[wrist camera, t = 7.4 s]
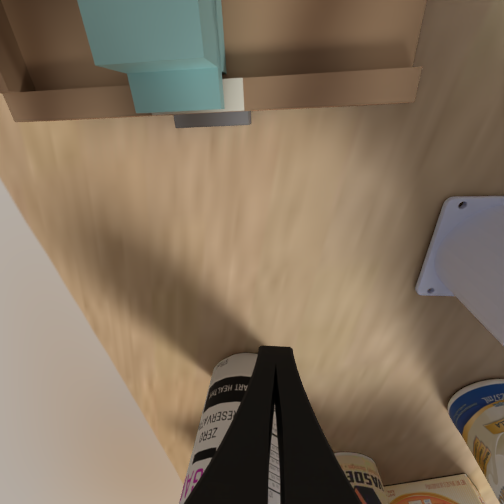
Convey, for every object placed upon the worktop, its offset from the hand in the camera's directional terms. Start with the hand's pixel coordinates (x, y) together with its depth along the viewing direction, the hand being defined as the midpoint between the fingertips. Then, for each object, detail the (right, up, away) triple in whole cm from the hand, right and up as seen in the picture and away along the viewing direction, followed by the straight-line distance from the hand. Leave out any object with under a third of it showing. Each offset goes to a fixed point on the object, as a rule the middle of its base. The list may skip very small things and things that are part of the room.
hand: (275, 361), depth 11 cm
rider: (-4, +15, +1) cm, 16 cm away
